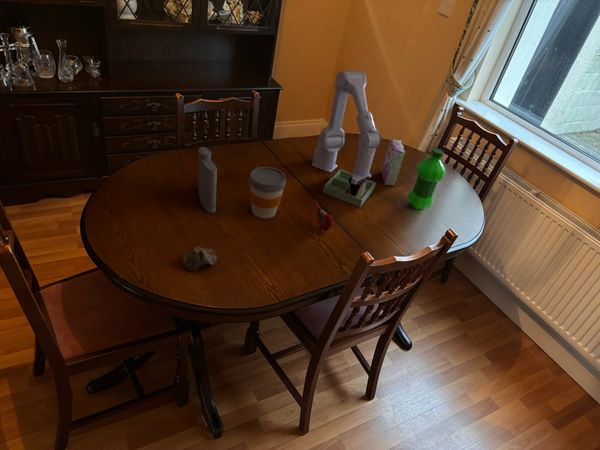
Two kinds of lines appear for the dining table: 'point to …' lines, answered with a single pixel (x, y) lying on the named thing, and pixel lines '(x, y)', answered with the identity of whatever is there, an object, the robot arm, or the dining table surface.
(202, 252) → the grey lumpy rock
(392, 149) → the candy bar box
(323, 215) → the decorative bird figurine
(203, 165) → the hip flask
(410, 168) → the dining table surface
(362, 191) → the paper cup
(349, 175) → the green divided tray
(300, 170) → the dining table surface
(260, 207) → the reusable coffee cup
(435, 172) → the plastic bottle
